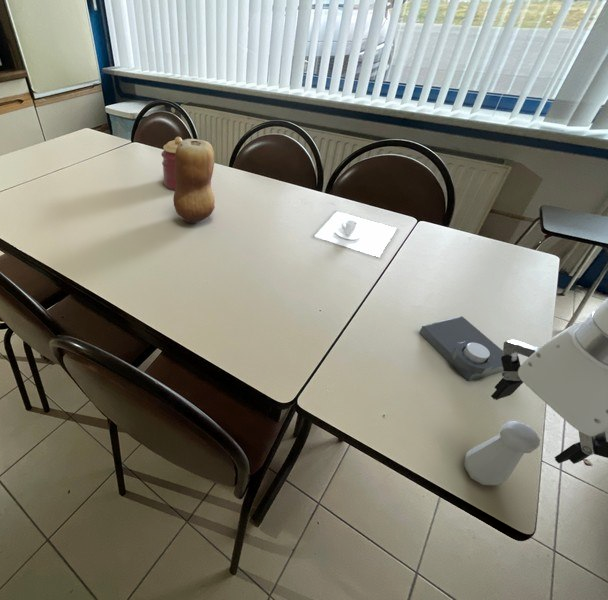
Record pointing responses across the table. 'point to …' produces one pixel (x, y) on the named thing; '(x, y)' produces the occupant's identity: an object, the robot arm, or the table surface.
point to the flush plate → (462, 346)
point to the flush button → (476, 352)
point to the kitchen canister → (170, 162)
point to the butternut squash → (194, 180)
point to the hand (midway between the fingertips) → (530, 424)
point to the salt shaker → (501, 453)
